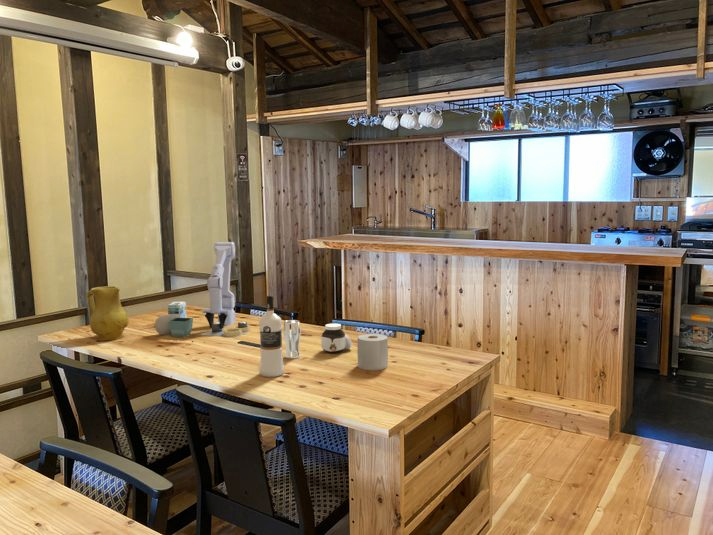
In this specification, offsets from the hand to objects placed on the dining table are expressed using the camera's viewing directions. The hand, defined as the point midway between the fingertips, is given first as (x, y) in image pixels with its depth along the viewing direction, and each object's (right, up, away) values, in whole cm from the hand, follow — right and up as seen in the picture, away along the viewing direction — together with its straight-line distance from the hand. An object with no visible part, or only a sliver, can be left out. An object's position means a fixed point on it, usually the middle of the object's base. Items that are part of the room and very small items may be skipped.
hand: (216, 328), depth 283 cm
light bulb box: (-27, 0, +27) cm, 38 cm away
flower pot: (-15, -4, -7) cm, 17 cm away
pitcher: (-51, -4, -5) cm, 51 cm away
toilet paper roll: (+75, -9, -57) cm, 95 cm away
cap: (0, -2, 0) cm, 2 cm away
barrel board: (+6, -3, -2) cm, 7 cm away
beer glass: (+42, -8, -43) cm, 60 cm away
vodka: (+37, -11, -66) cm, 76 cm away
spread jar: (+61, -6, -34) cm, 70 cm away
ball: (-25, -3, -1) cm, 25 cm away
